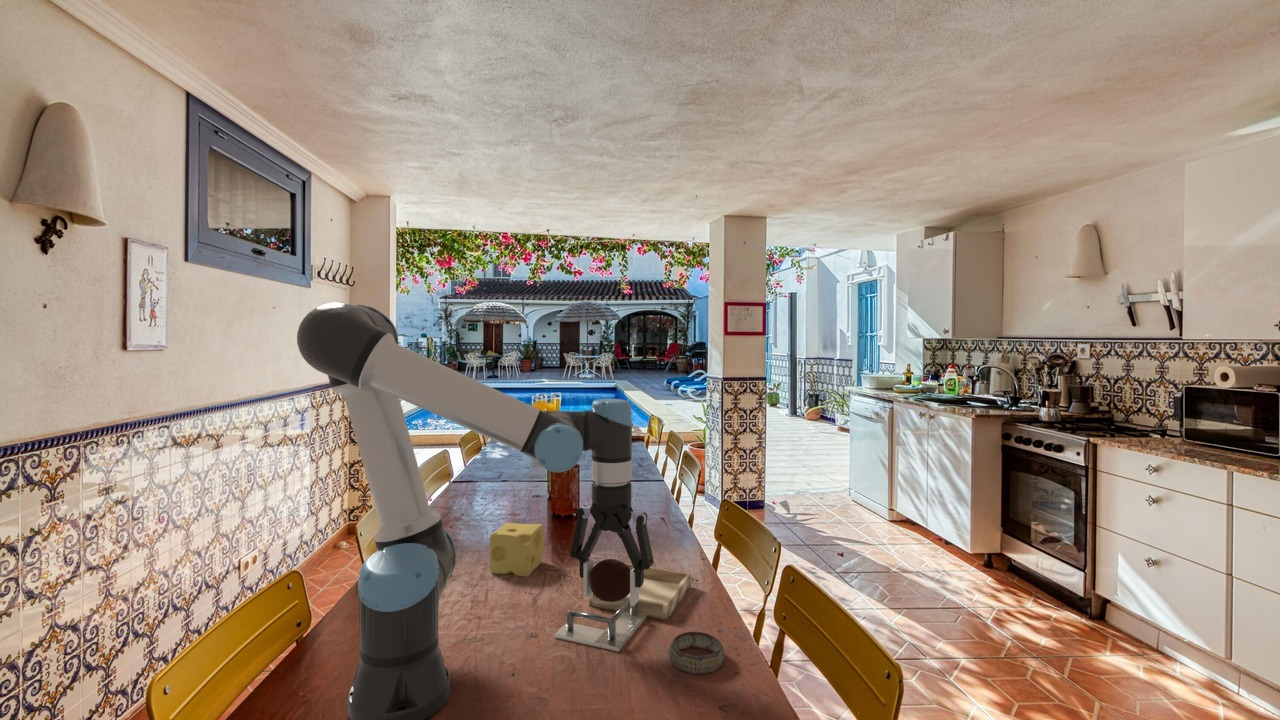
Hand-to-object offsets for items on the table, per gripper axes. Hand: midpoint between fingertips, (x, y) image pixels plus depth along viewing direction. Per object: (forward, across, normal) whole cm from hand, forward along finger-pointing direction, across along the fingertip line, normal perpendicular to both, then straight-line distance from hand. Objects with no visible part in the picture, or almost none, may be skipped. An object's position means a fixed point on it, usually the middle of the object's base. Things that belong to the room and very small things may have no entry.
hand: (611, 598), depth 113 cm
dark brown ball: (0, 0, 0) cm, 0 cm away
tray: (+9, +2, -21) cm, 23 cm away
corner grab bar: (+9, +4, -5) cm, 11 cm away
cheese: (+9, +37, -24) cm, 45 cm away
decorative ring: (+9, -17, 0) cm, 19 cm away
